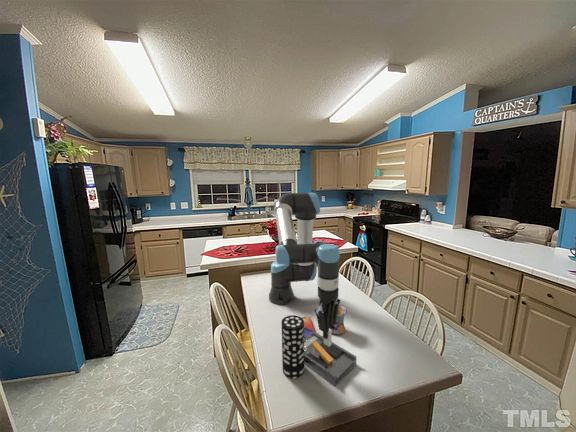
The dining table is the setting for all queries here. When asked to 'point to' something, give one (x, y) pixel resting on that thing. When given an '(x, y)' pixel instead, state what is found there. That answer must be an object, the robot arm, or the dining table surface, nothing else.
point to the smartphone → (308, 326)
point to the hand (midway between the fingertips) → (327, 344)
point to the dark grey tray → (312, 359)
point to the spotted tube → (293, 346)
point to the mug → (340, 321)
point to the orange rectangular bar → (322, 352)
